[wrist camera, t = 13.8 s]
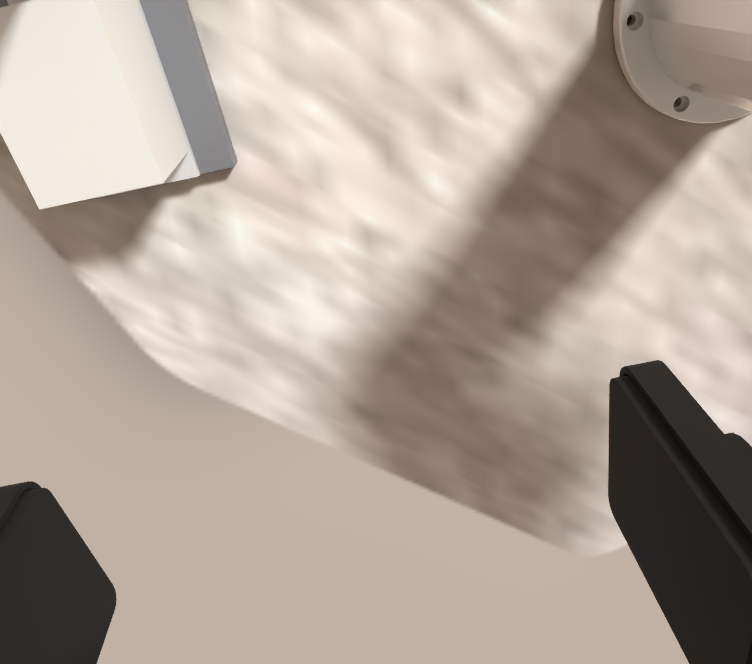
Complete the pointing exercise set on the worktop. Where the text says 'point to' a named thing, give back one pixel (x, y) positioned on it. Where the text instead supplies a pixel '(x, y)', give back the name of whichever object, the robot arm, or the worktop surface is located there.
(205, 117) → the rail board
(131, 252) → the worktop surface
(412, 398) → the worktop surface
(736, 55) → the robot arm
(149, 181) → the mounted modules
